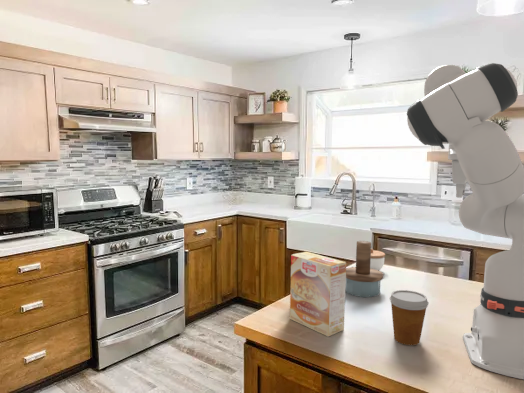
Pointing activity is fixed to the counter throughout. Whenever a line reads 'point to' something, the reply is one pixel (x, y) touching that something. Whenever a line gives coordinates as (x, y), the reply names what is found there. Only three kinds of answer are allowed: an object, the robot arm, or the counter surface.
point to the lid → (363, 265)
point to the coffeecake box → (318, 292)
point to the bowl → (362, 288)
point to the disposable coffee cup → (408, 315)
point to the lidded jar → (377, 259)
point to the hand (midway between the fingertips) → (460, 196)
